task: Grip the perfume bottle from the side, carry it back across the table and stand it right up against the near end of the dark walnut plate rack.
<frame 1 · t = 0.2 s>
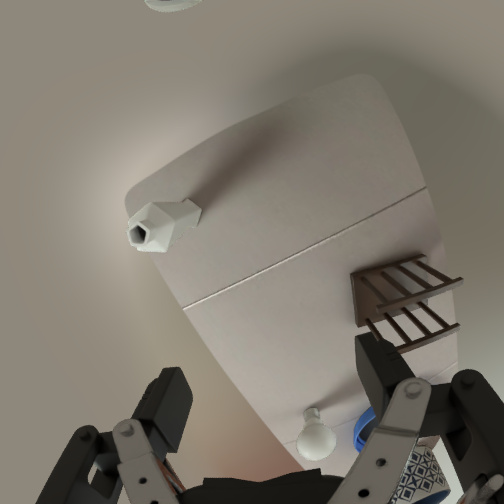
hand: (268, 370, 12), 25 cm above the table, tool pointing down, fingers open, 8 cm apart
bowl: (392, 418, 43), on the table
perfume bottle: (187, 212, 35), on the table
lightbulb: (310, 409, 43), on the table
planter: (400, 464, 48), on the table
plate rack: (390, 289, 37), on the table
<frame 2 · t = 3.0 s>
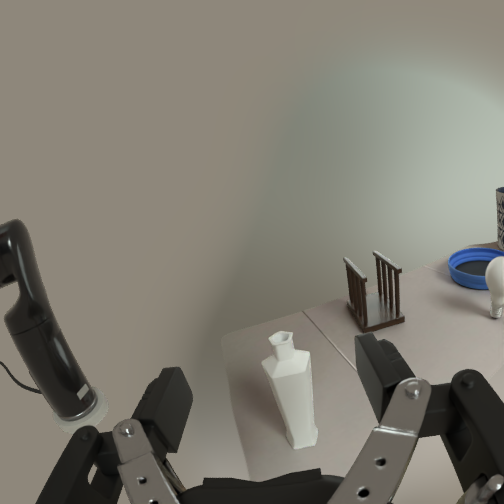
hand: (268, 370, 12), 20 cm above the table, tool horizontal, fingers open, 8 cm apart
bowl: (481, 275, 47), on the table
perfume bottle: (301, 437, 27), on the table
lightbulb: (495, 317, 33), on the table
plate rack: (374, 312, 49), on the table
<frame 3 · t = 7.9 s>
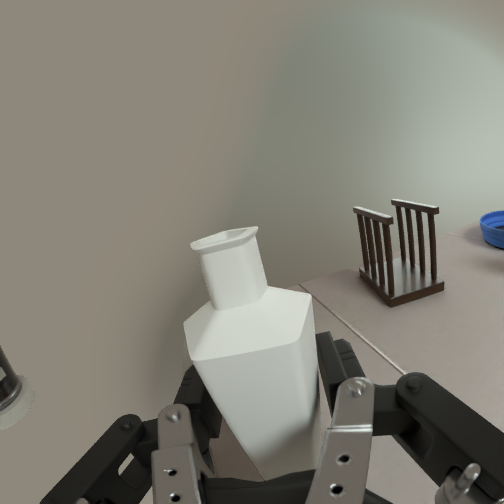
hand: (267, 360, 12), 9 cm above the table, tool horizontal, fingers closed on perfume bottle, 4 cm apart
perfume bottle: (295, 488, 12), on the table, touching gripper
plate rack: (398, 281, 34), on the table
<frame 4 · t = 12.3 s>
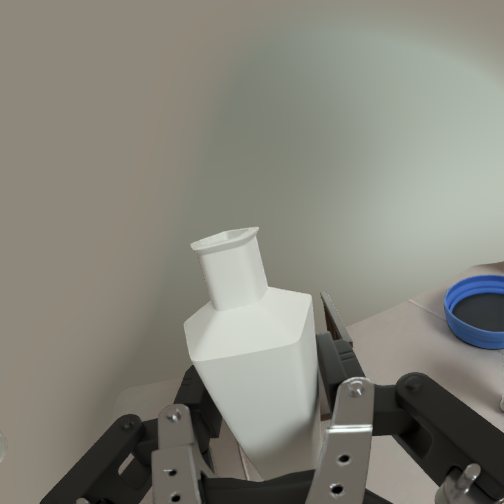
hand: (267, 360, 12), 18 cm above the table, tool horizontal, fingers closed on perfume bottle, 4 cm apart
bowl: (491, 319, 30), on the table
perfume bottle: (295, 488, 12), point 9 cm above the table, touching gripper
plate rack: (316, 387, 32), on the table
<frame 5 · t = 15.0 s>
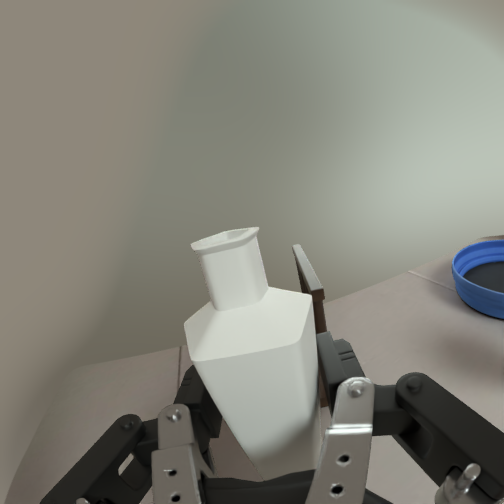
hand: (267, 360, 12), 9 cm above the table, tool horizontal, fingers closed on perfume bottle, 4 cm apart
perfume bottle: (295, 488, 12), point 1 cm above the table, touching gripper
plate rack: (288, 369, 25), on the table
when the fingers open (9 cm above the table, at t = 16.8 s): perfume bottle stays where it is, on the table.
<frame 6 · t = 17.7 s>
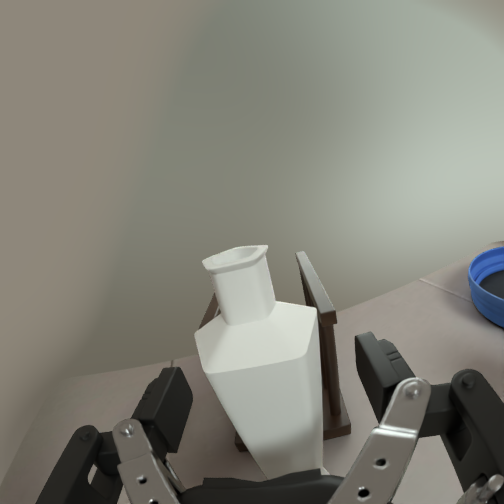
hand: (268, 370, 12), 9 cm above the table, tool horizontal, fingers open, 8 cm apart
perfume bottle: (297, 488, 12), on the table
plate rack: (289, 392, 21), on the table
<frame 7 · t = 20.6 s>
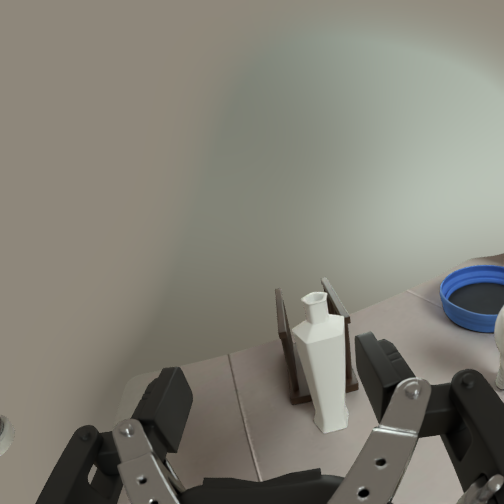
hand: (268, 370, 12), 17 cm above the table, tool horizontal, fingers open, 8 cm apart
bowl: (486, 306, 32), on the table
perfume bottle: (330, 421, 25), on the table
lightbulb: (502, 386, 17), on the table
plate rack: (318, 368, 34), on the table
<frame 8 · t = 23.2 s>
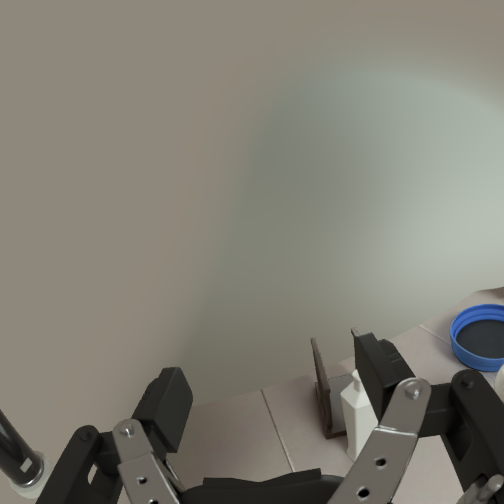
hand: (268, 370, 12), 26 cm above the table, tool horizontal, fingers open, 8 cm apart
bowl: (489, 344, 34), on the table
perfume bottle: (359, 452, 27), on the table
lightbulb: (497, 421, 20), on the table
plate rack: (345, 405, 36), on the table
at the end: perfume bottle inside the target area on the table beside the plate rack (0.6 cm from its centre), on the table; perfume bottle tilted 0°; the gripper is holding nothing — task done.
